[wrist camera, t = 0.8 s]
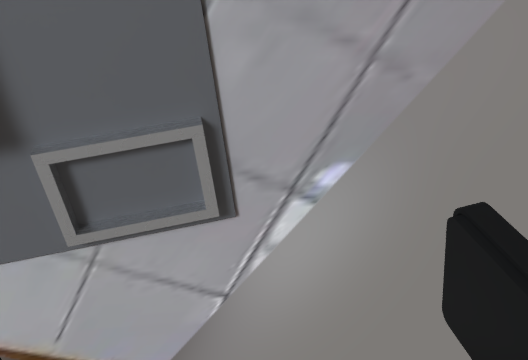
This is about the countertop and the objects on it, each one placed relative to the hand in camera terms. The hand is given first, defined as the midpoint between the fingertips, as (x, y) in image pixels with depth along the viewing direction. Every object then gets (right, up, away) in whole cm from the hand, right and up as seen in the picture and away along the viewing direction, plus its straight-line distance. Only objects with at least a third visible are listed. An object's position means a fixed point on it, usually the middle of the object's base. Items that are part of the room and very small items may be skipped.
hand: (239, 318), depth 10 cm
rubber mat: (-15, +7, +28) cm, 33 cm away
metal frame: (-11, +3, +32) cm, 34 cm away
